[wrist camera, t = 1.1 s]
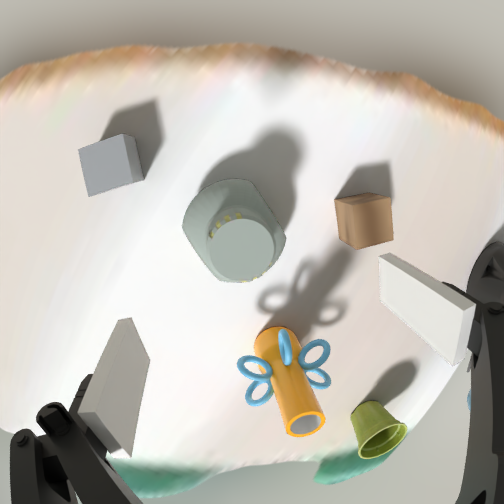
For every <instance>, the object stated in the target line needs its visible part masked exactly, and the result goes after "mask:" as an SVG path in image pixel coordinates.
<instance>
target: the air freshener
mask: <svg viewBox="0 0 504 504" xmlns="http://www.w3.org/2000/svg"><path fill="white" fill-rule="evenodd" d="M182 228H183V231H184V233H185V235H186V237H187V238H188V240H189V242H190V244H191V245H192V247H193V248H194V250H195V251H196V253H197V254H198V256H199V257H200V259H201V260H202V261H203V263H204V264H205V265H206V267H207V268H208V269H209V270H210V271H211V273H212V274H213V275H214V276H215V277H216V278H217V279H218V280H220V281H224V282H237V283H242V282H249V281H253V279H256V278H259V277H260V276H262V274H263V273H265V272H267V270H269V269H270V268H271V267H272V266H273V265H274V263H275V262H276V261H277V260H278V258H279V256H280V255H281V253H282V251H283V248H284V246H285V242H286V236H285V234H284V232H283V230H282V228H281V227H280V225H279V223H278V221H277V220H276V218H275V217H274V215H273V213H272V212H271V210H270V208H269V207H268V205H267V204H266V202H265V201H264V199H263V198H262V196H261V195H260V193H259V192H258V190H257V189H256V188H255V186H254V185H253V184H252V182H251V181H248V180H244V179H226V180H222V181H219V182H216V183H214V184H211V185H209V186H208V187H206V188H205V189H203V190H202V191H201V192H200V193H199V194H197V195H196V196H195V198H194V199H193V200H192V202H191V203H190V205H189V206H188V208H187V210H186V213H185V216H184V219H183V225H182Z"/></svg>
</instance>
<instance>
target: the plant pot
mask: <svg viewBox="0 0 504 504" xmlns="http://www.w3.org/2000/svg"><path fill="white" fill-rule="evenodd" d="M351 421H352V424H353V427H354V430H355V433H356V437H357V440H358V443H359V444H358V447H359V450H358V454H359V456H360V457H361V458H364V459H370V458H375V457H378V456H380V455H383V454H385V453H386V452H388V451H390V450H391V449H393V448H394V447H395V446H396V445H398V444H399V443H400V441H401V440H402V439H403V438H404V436H405V435H406V433H407V426H406V425H405V424H404V423H400V422H399V421H398V420H396V419H395V418H394V417H393V416H392V415H391V414H390V413H389V412H388V411H387V410H386V409H385V408H384V407H383V406H382V405H381V404H380V403H379V402H378V401H367V402H364V403H363V404H361V405H359V406H358V407H357V408H356V409H355V411H354V413H352V414H351Z"/></svg>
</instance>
